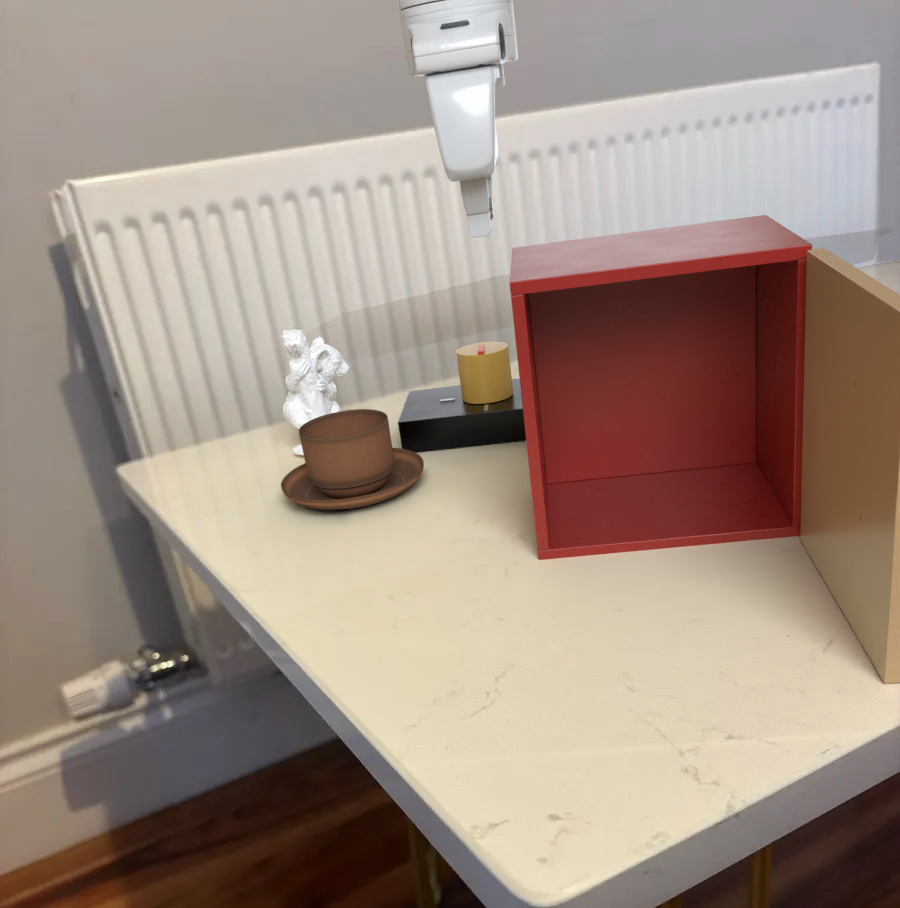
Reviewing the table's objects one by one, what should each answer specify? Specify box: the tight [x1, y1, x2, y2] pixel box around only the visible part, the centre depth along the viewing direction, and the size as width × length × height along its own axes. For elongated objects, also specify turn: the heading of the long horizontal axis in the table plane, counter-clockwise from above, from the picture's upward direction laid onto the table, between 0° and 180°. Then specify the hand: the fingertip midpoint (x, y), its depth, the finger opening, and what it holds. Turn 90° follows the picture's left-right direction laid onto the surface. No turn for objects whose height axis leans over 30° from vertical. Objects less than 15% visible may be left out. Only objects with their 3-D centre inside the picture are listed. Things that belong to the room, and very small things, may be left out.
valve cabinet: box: [509, 214, 813, 561], centre depth 70 cm, size 13×18×19 cm
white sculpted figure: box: [280, 329, 351, 457], centre depth 95 cm, size 8×7×12 cm
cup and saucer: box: [280, 408, 425, 511], centre depth 85 cm, size 12×12×6 cm
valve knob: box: [455, 340, 513, 404], centre depth 95 cm, size 5×5×5 cm
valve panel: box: [397, 378, 526, 453], centre depth 97 cm, size 12×10×3 cm
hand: (482, 228), depth 87 cm, fingers open, 8 cm apart
